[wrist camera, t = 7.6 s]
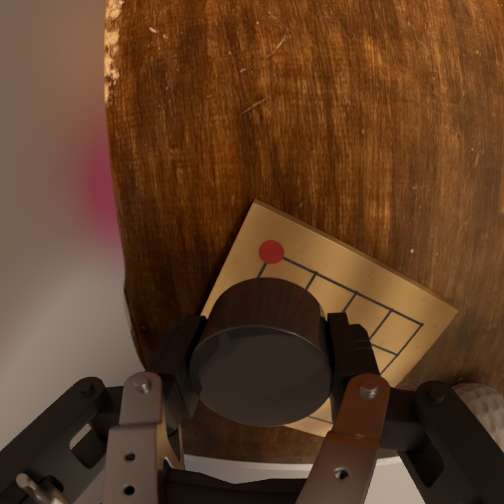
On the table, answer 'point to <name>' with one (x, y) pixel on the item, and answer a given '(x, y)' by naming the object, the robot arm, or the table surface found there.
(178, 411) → the robot arm
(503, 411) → the vase
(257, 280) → the dark grey puck
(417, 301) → the board
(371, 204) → the table surface
